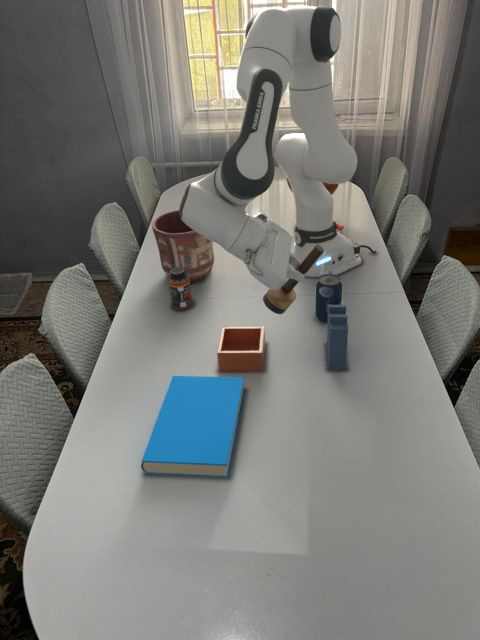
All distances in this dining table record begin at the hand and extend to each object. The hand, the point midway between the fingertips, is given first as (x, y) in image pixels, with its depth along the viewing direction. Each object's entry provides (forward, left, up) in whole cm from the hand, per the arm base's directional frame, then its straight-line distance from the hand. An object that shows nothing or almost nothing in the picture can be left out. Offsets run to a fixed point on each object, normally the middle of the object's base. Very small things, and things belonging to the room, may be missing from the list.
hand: (303, 274), depth 111 cm
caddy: (+13, -8, -23) cm, 28 cm away
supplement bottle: (+17, -39, -24) cm, 49 cm away
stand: (-7, +4, -23) cm, 25 cm away
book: (+31, +9, -24) cm, 40 cm away
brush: (+1, -1, -9) cm, 9 cm away
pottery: (+9, -55, -24) cm, 60 cm away
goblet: (-47, -72, -24) cm, 89 cm away
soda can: (-15, -12, -24) cm, 30 cm away
